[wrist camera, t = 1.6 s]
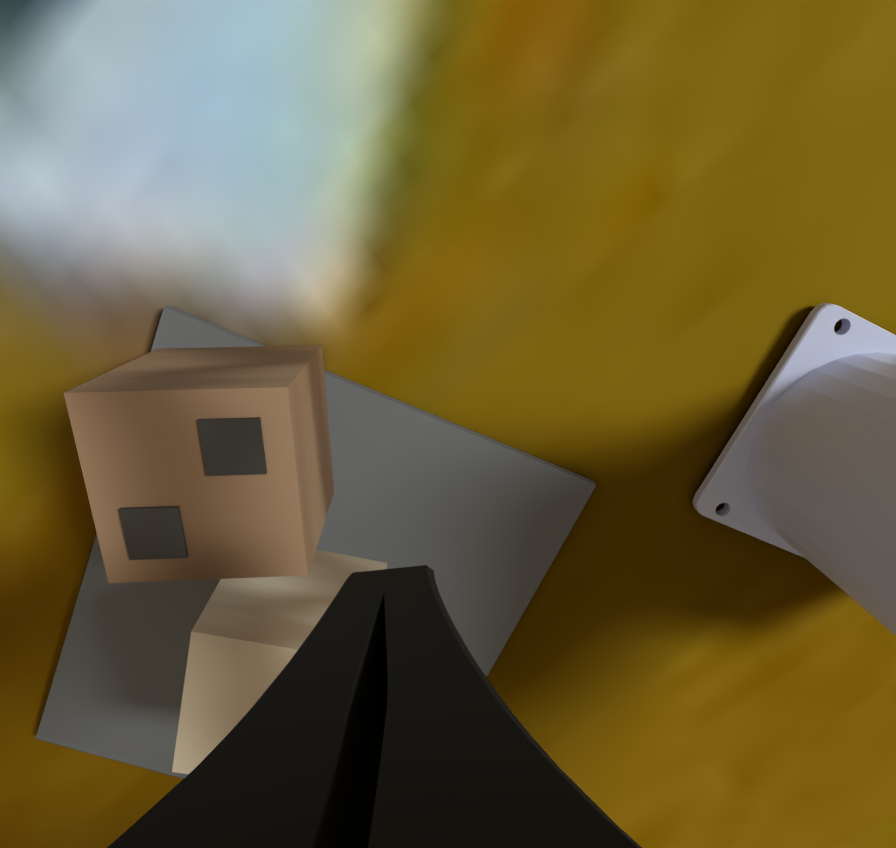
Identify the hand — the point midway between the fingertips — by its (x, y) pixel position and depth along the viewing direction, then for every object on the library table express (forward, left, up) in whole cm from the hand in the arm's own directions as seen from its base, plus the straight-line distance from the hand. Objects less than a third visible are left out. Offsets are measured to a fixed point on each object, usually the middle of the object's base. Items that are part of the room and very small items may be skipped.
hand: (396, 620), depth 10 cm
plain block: (+1, +8, -10) cm, 13 cm away
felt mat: (+1, +8, -10) cm, 13 cm away
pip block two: (+5, +2, -10) cm, 11 cm away
